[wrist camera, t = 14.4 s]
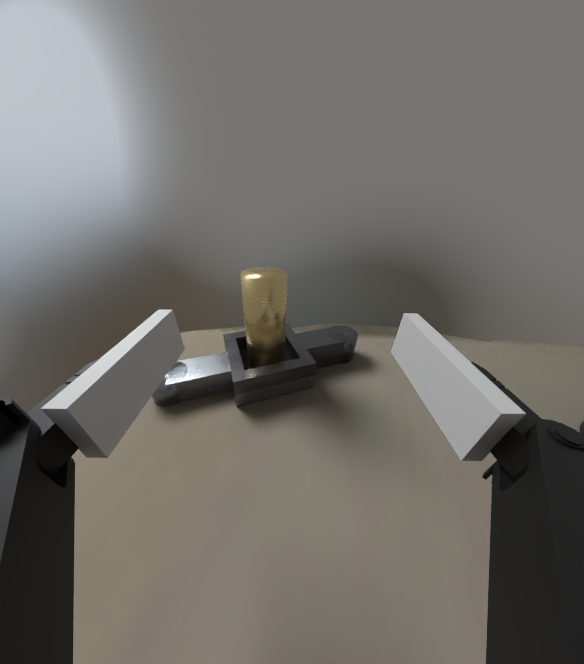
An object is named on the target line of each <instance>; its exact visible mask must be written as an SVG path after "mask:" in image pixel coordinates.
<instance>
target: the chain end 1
mask: <svg viewBox="0 0 584 664" xmlns="http://www.w3.org/2000/svg"><path fill="white" fill-rule="evenodd" d="M239 352H240V356H241V359H247V358H248V352H247V348H243V349H239ZM285 358H286V359H287V361H290V360H293V358H292V357H291V355H290V353H289V352H288V350H287V348H286V347H285ZM314 379H315V375H313V376H309V377H306V378H302V379H298V380H294V381H290V382H286V383H282V384H278V385H274V386H270V387H266V388H262V389H258V390H254V391H250V392H246V393H242V394H238V395H235V393H234V395H235V400H236V406H237V407H239V406H242V405H246V404H250V403H253V402H257V401H261V400H265V399H268V398H272V397H276V396H279V395H283V394H287V393H291V392H294V391H298V390H302V389H305V388H309V387H313V386H314ZM230 389H233V390H234V388H233V383H232V378H231V371H230V366H229V361H228V356H227V352H224V353H219V354H213V355H208V356H202V357H197V358H191V359H186V360H180V361H176V362H175V364H174V365H173V366H172V368H171V369H170V371H169V372H168V373H167V375H166V376H165V378H164V379H163V380H162V382H161V383H160V385H159V386H158V388H157V389H156V390H155V392H154V393H153V395H152V397H153V399H154V401H155V402H156V403H157V404H159V405H164V406H167V405H173V404H176V403H178V402H180V401H184V400H188V399H192V398H197V397H201V396H205V395H209V394H213V393H217V392H222V391H226V390H230Z"/></svg>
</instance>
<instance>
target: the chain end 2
mask: <svg viewBox="0 0 584 664" xmlns="http://www.w3.org/2000/svg"><path fill="white" fill-rule="evenodd" d="M223 336H224V342H225V348H226V352H227V356H228V361H229V366H230V371H231V378H232V383H233V388H234V393H235V395H238V394H242V393H246V392H250V391H254V390H258V389H262V388H266V387H270V386H274V385H278V384H282V383H286V382H290V381H294V380H298V379H302V378H306V377H309V376H313V375H315V371H316V369H317V368H321V367H325V366H330V365H334V364H338V363H346V362H349V361H351V360H352V358H353V354H354V349H355V345H356V341H357V337H358V334H357V332H356V331H354V330H353V329H351V328H349V327H345V326H334V327H331V328H326V329H320V330H315V331H309V332H303V333H297V334H295V333H294V331H293V330H292V329H291V327H290V326H289V325H288V324H287V325H286V337H285V347H286V348H287V350H288V352H289V353H290V355H291V357H292V358H293V360H290V361H285V362H280V363H276V364H271V365H266V366H262V367H257V368H253V369H248V370H244V366H243V363H242V359H241V356H240V352H239V349H243V348H247V340H246V331H242V332H236V333H230V334H223Z"/></svg>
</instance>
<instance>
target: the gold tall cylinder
mask: <svg viewBox="0 0 584 664" xmlns="http://www.w3.org/2000/svg"><path fill="white" fill-rule="evenodd" d="M241 284H242V295H243V307H244V318H245V329H246V340H247V352H248V363H249V369H253V368H257V367H262V366H266V365H271V364H276V363H280V362H285V337H286V301H287V272H286V271H284V270H281V269H278V268H270V267H256V268H250V269H246V270H244V271H242V272H241Z"/></svg>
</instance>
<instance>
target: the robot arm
mask: <svg viewBox="0 0 584 664" xmlns="http://www.w3.org/2000/svg"><path fill="white" fill-rule="evenodd" d="M184 350H185V348H184V345H183V342H182V339H181V335H180V332H179V329H178V326H177V323H176V320H175V317H174V313H173V310H158V311H157V312H155V313H154V314H153V315H152V316H151V317H149V318H148V319H147V320H146V321H145V322H143V323H142V324H141V325H140V326H139V327H137V328H136V329H135V330H134V331H133V332H131V333H130V334H129V335H128V336H127V337H126V338H124V339H123V340H122V341H121V342H119V343H118V344H117V345H116V346H115V347H113V348H112V349H111V350H110V351H109V352H108V353H106V354H105V355H104V356H103V357H102V358H99V359H97V360H95V361H93V362H91V363H90V364H88V365H86V366H85V367H84V368H82V369H81V370H80V371H79V372H77V373H76V374H75V376H73V377H71V378H70V379H69V380H68V381H66V384H63V385H62V386H60V387H59V388H58V389H56V390H55V391H54V392H53V393H51V394H50V395H49V396H48V397H47V398H45V399H44V400H43V401H42V402H40V403H39V404H38V405H37V406H35V407H34V408H33V409H32V410H31V411H29V412H28V413H25V412H24V411H23V410H22V409H21V408H20V407H19V406H18V405H17V404H16V403H15V402H14V401H13V400H12V399H11V398H8V397H0V664H73V599H74V505H75V463H74V460H73V459H72V458H71V456H72V455H73V454H74V453H75V452H76V451H77V449H79V450H80V451H81V452H82V453H83V454H84V455H85V456H86V457H94V458H108V457H109V455H110V454H111V452H112V451H113V449H114V448H115V447H116V445H117V444H118V442H119V441H120V440H121V438H122V437H123V435H124V434H125V433H126V431H127V430H128V428H129V427H130V426H131V424H132V423H133V421H134V420H135V419H136V417H137V416H138V414H139V413H140V411H141V410H142V409H143V407H144V406H145V404H146V403H147V402H148V400H149V399H150V397H151V396H152V395H153V393H154V392H155V390H156V389H157V388H158V386H159V385H160V383H161V382H162V380H163V379H164V378H165V376H166V375H167V373H168V372H169V371H170V369H171V368H172V366H173V365H174V364H175V362H176V361H177V359H178V358H179V357H180V355H181V354H182V352H183V351H184ZM391 353H392V354H393V356H394V357H395V359H396V360H397V362H398V363H399V365H400V366H401V368H402V370H403V371H404V373H405V374H406V376H407V377H408V379H409V380H410V382H411V384H412V385H413V387H414V388H415V390H416V391H417V393H418V394H419V396H420V397H421V399H422V401H423V402H424V404H425V405H426V407H427V408H428V410H429V411H430V413H431V414H432V416H433V418H434V419H435V421H436V422H437V424H438V425H439V427H440V428H441V430H442V432H443V433H444V435H445V436H446V438H447V439H448V441H449V442H450V444H451V445H452V447H453V449H454V450H455V452H456V453H457V455H458V456H459V458H460V459H461V461H482V460H483V459H484V458H485V457H486V456H487V455H488V454H489V453H490V452H491V453H492V454H493V455H494V457H495V458H496V459H497V461H496V462H495V463H494V464H493V465H492V466H491V467H490V468H489V469H488V470H487V471H486V472H485V473H484V474H483V477H482V478H484V479H487V478H488V477H489V476H490V475H492V482H491V483H492V504H491V533H490V562H489V591H488V620H487V649H486V664H584V421H583V422H582V423H581V425H580V433H579V432H577V431H576V430H574V429H572V428H570V427H568V426H566V425H564V424H562V423H559V422H555V421H552V420H545V419H541V418H540V417H539V416H538V415H536V414H535V413H534V412H533V411H532V410H531V409H530V408H529V407H527V406H526V405H525V404H524V403H523V402H522V401H521V400H520V399H518V398H517V397H516V396H515V395H514V394H513V393H512V392H510V391H509V390H508V389H505V386H504V385H503V384H501V383H500V382H499V381H496V378H495V377H493V376H492V375H491V374H490V373H489V372H488V371H487V370H485V369H484V368H482V367H480V366H479V365H477V364H475V363H473V362H470V361H468V360H467V359H466V358H465V357H464V356H463V355H462V354H461V353H460V352H459V351H458V350H456V349H455V348H454V347H453V346H452V345H451V344H450V343H449V342H448V341H447V340H446V339H444V338H443V337H442V336H441V335H440V334H439V333H438V332H437V331H436V330H435V329H434V328H432V327H431V326H430V325H429V324H428V323H427V322H426V321H425V320H424V319H423V318H422V317H420V316H419V315H418V314H412V313H411V314H409V313H404V315H403V318H402V321H401V324H400V327H399V330H398V333H397V336H396V339H395V342H394V345H393V348H392V351H391Z"/></svg>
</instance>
